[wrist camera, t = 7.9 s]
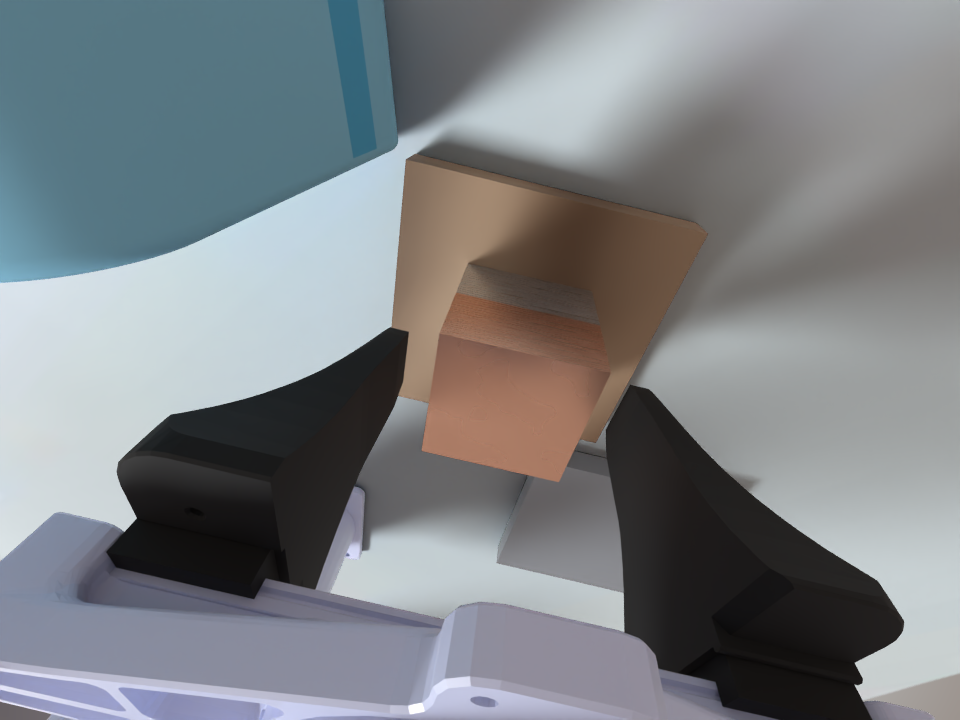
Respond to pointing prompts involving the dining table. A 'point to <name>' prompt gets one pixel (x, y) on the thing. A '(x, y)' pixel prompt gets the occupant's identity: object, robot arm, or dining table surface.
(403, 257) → the walnut stand
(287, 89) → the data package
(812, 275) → the dining table surface
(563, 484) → the slate stand
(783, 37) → the dining table surface
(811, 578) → the robot arm
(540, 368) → the orange-brown cube
